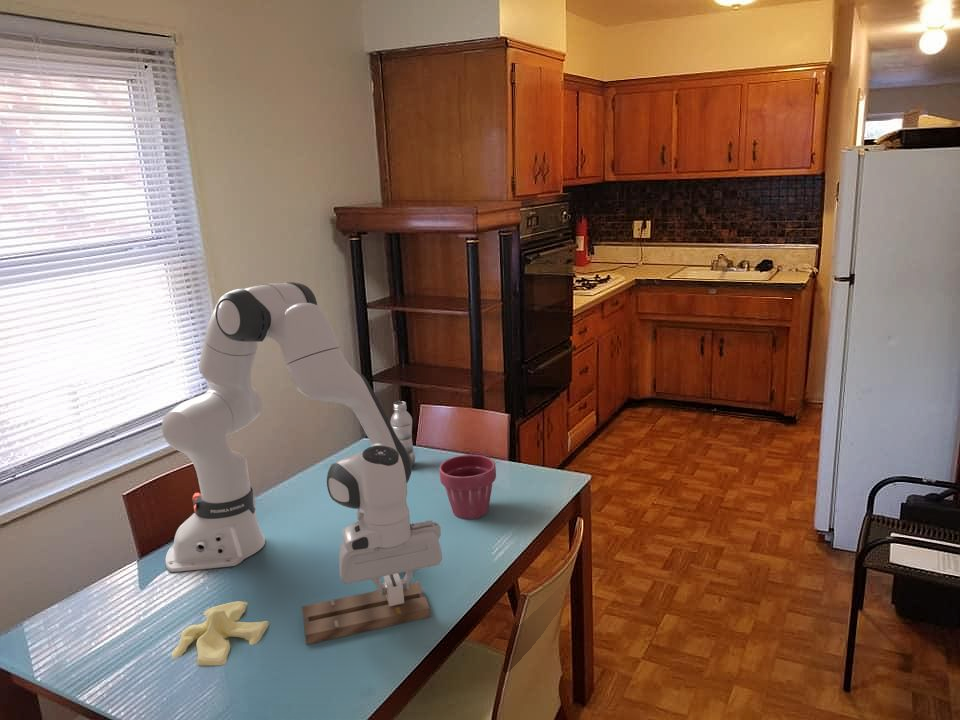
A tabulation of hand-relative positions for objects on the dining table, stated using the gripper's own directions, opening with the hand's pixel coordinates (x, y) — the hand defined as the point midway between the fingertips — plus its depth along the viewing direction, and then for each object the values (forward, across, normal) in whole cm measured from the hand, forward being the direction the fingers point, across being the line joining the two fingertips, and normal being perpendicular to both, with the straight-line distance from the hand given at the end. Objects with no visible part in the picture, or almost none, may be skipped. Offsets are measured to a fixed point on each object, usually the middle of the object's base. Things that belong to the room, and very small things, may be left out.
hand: (394, 591), depth 145 cm
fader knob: (+4, 0, 0) cm, 4 cm away
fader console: (+4, +6, 0) cm, 7 cm away
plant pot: (+4, -26, -36) cm, 45 cm away
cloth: (+5, +35, -4) cm, 36 cm away
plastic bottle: (+4, -16, -72) cm, 74 cm away
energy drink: (+4, +1, -23) cm, 24 cm away
